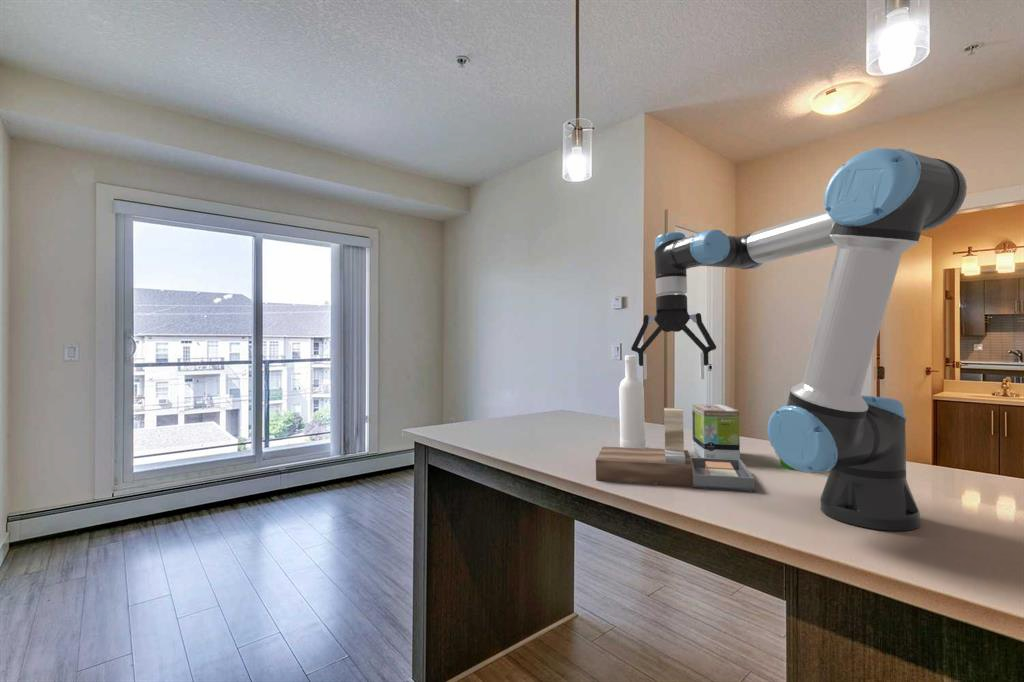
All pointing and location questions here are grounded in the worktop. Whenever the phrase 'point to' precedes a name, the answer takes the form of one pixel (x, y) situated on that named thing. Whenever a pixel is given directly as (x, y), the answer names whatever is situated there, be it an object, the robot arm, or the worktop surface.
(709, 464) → the terracotta tile
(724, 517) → the worktop surface
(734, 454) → the tea box
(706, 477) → the tray
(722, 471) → the cream tile
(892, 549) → the worktop surface
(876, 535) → the worktop surface
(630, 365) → the bottle
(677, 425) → the two-tone beige block
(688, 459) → the board
